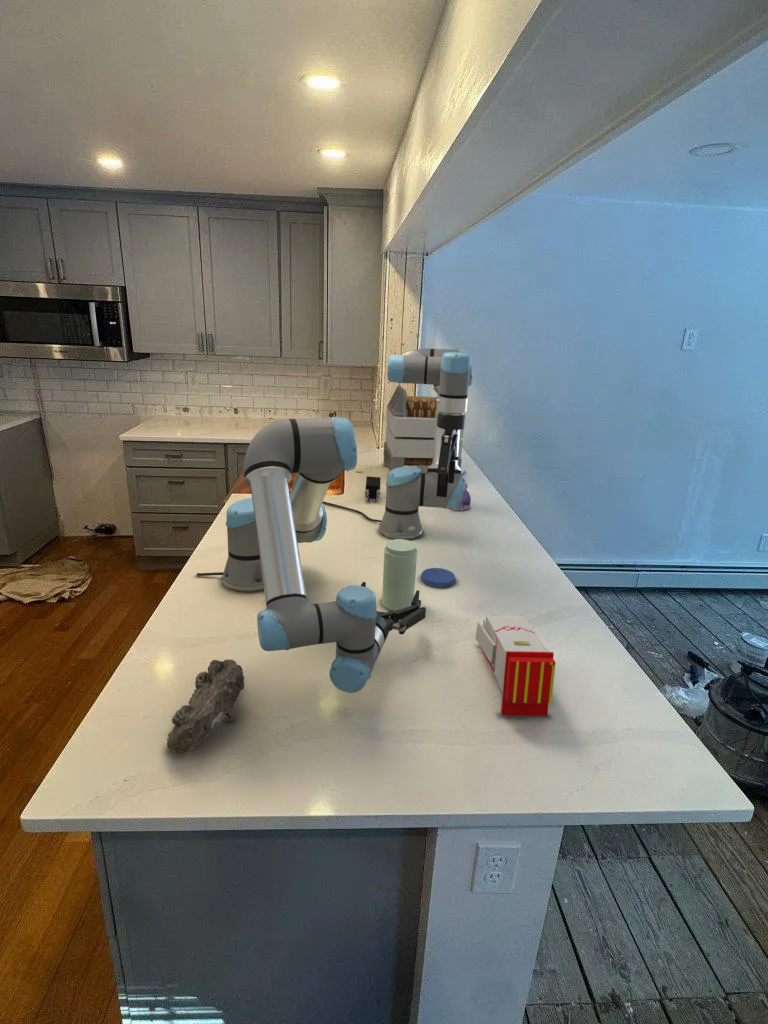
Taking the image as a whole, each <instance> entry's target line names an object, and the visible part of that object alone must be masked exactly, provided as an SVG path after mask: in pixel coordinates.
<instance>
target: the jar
mask: <svg viewBox="0 0 768 1024" xmlns="http://www.w3.org/2000/svg"><path fill="white" fill-rule="evenodd" d="M417 558H418V549H417V544H416V543H415V542H414V541H412V540H404V539H389V540H388V541H386V543H385V546H384V551H383V569H382V571H383V572H382V590H381V591H382V593H381V604H382V606H383V607H384V608H385V609H387V610H389V611H391V610H393V611H397V610H400V609H403V608H406V607H409V606H411V603H412V600H413V598H414V595H415V587H416V573H417V571H416V570H417V560H418V559H417Z"/></svg>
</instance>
